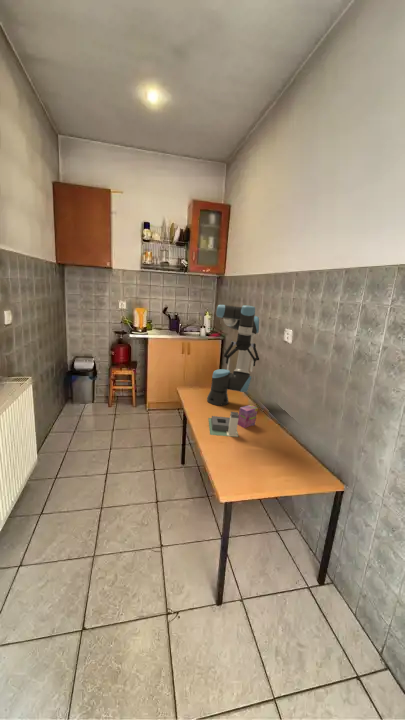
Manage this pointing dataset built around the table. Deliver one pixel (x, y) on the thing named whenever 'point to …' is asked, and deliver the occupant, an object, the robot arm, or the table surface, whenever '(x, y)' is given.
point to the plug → (233, 423)
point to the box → (247, 416)
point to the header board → (220, 426)
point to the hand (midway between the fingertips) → (239, 370)
